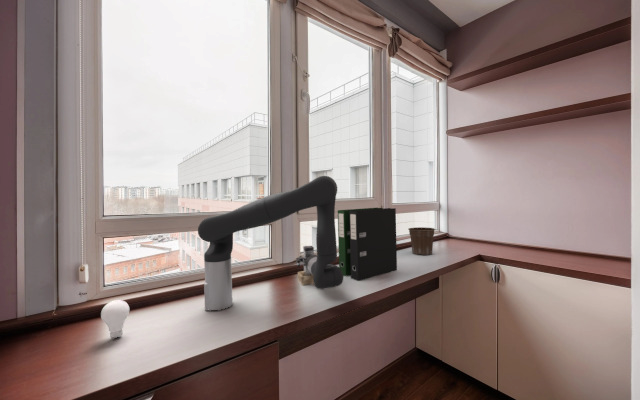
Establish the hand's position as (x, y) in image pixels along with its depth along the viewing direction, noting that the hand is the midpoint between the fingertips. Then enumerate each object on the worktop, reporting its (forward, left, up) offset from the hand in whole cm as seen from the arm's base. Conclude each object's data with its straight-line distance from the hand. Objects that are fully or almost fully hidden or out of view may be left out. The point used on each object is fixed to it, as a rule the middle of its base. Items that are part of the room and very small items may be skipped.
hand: (307, 257), depth 130 cm
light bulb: (-65, -34, -11) cm, 74 cm away
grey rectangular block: (0, -2, -10) cm, 10 cm away
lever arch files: (+32, +1, -11) cm, 34 cm away
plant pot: (+82, +28, -11) cm, 87 cm away
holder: (0, -2, -11) cm, 11 cm away
